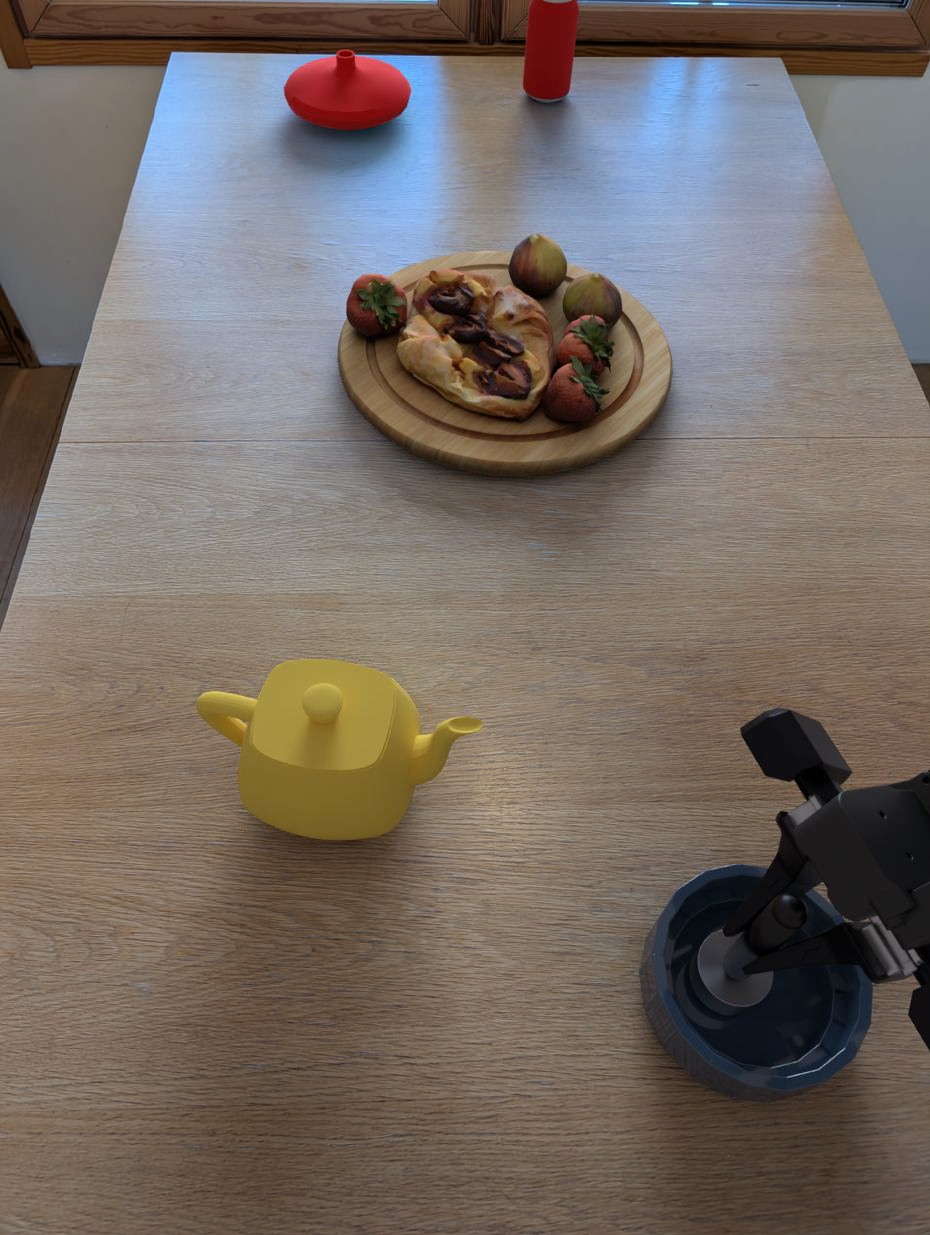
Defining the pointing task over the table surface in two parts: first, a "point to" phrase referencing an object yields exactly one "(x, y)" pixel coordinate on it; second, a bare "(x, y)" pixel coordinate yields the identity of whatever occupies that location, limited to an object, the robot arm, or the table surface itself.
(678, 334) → the table surface
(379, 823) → the teapot
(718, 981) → the coffee tamper
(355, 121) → the red vase
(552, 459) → the wooden plate
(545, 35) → the beverage can
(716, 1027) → the bowl
